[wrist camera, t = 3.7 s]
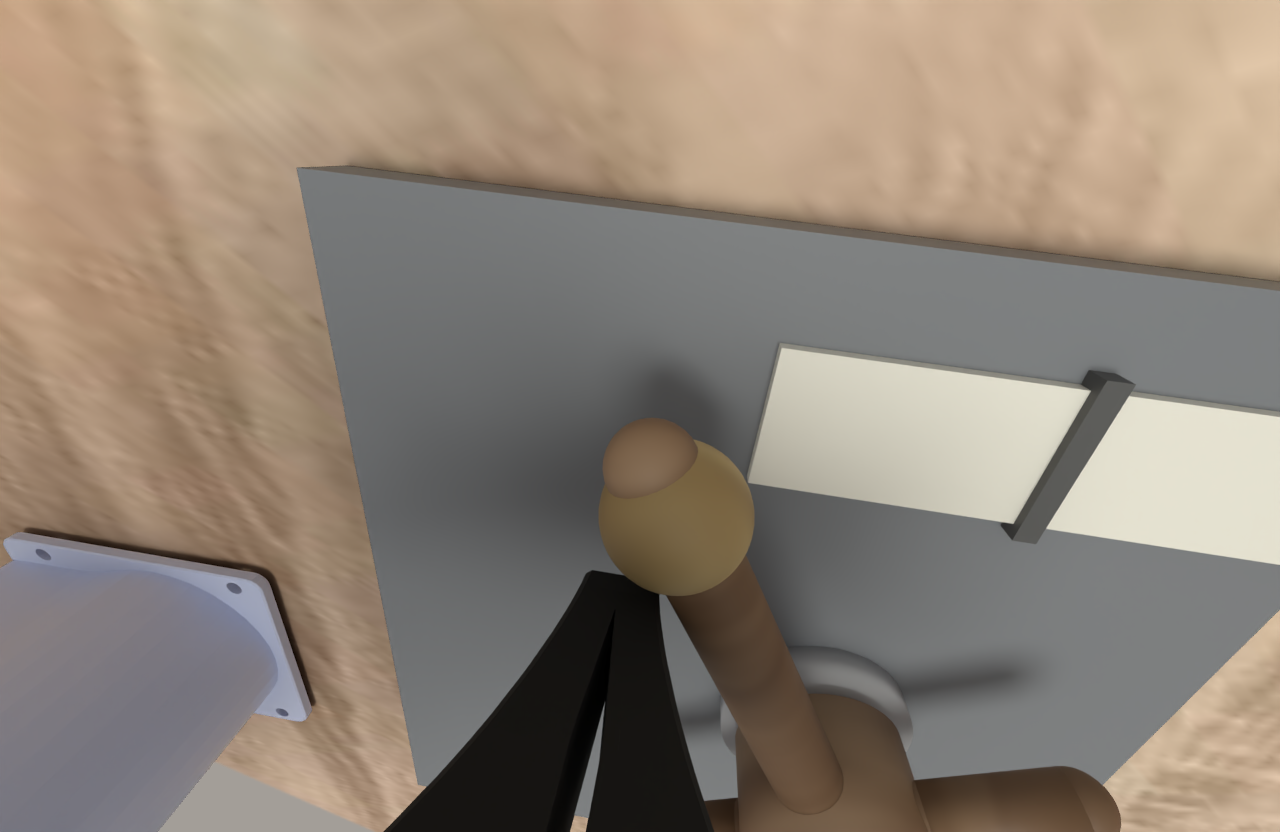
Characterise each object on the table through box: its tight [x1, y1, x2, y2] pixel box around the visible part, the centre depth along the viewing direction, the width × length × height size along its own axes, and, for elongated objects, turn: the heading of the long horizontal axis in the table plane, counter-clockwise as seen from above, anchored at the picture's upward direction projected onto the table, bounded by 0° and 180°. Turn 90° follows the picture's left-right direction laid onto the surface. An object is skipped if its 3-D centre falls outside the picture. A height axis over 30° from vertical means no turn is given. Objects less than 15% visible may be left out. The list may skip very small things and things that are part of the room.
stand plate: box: [297, 166, 1280, 818], centre depth 14 cm, size 22×22×2 cm
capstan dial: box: [599, 418, 1121, 832], centre depth 11 cm, size 18×12×3 cm
